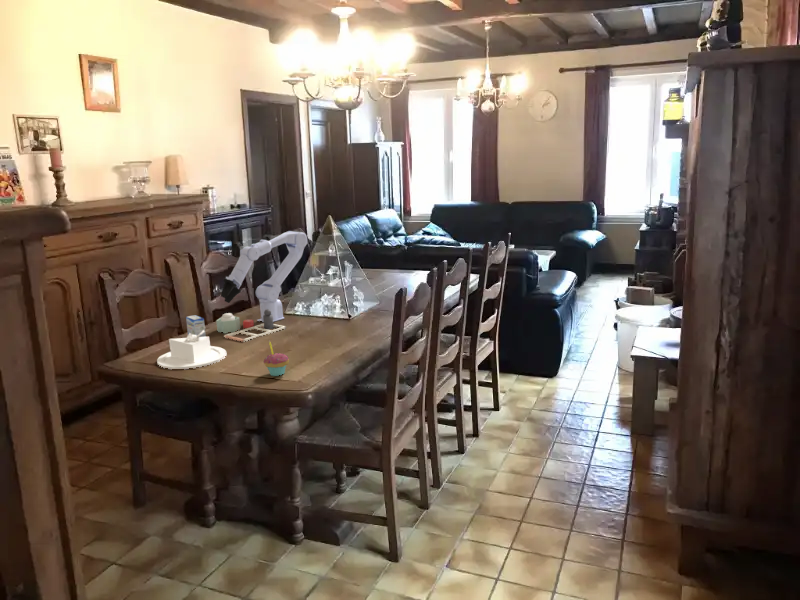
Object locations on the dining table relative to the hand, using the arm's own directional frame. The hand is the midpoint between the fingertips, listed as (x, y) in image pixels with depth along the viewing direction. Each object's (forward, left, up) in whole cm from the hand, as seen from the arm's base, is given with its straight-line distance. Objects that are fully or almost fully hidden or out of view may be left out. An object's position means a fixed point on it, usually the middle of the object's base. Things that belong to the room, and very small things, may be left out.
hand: (224, 299), depth 279 cm
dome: (-1, -1, -11) cm, 11 cm away
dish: (+31, +19, -14) cm, 39 cm away
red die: (-8, +3, -14) cm, 16 cm away
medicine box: (+13, -4, -14) cm, 19 cm away
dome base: (-1, -1, -14) cm, 14 cm away
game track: (-4, +13, -14) cm, 19 cm away
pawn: (-12, +13, -14) cm, 22 cm away
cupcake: (+25, +60, -14) cm, 66 cm away
